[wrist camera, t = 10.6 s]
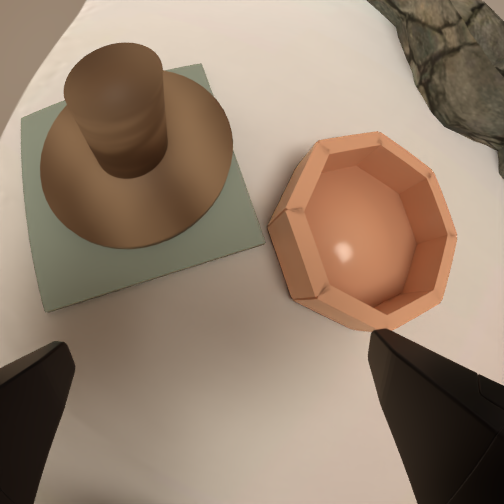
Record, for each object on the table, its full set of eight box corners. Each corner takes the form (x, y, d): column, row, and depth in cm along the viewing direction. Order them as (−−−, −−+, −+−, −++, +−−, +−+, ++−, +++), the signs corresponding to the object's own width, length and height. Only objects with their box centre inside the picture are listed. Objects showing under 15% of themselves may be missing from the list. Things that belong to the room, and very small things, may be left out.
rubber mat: (48, 312, 18) (45, 312, 17) (23, 122, 19) (21, 118, 19) (263, 244, 21) (265, 242, 21) (200, 68, 23) (201, 63, 22)
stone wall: (541, 171, 32) (587, 150, 22) (510, 243, 27) (579, 224, 17) (394, -13, 32) (424, -53, 22) (314, -3, 27) (345, -65, 18)
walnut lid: (131, 294, 18) (94, 285, 11) (16, 165, 18) (-39, 110, 10) (270, 149, 22) (308, 79, 14) (144, 53, 21) (138, -23, 14)
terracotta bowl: (306, 349, 21) (335, 359, 16) (248, 180, 22) (263, 151, 17) (432, 287, 23) (470, 283, 19) (383, 151, 25) (413, 127, 20)
